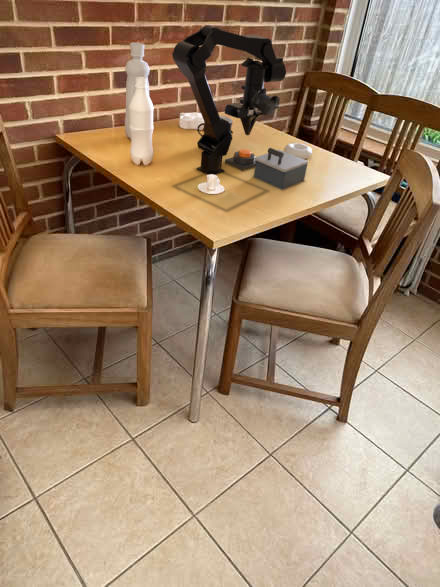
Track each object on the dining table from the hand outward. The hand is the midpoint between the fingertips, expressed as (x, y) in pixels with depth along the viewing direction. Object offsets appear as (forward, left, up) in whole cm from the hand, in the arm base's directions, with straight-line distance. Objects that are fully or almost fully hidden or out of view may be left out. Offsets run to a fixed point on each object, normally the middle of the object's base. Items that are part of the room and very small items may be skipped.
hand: (247, 134), depth 147 cm
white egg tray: (+16, +37, -10) cm, 42 cm away
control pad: (0, 0, -10) cm, 10 cm away
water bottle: (-28, +19, -10) cm, 35 cm away
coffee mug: (+2, +16, -10) cm, 19 cm away
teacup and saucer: (-21, -9, -10) cm, 25 cm away
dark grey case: (0, -15, -10) cm, 18 cm away
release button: (0, 0, -7) cm, 7 cm away
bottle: (-15, +37, -10) cm, 41 cm away
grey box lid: (0, -15, -4) cm, 15 cm away
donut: (+23, -6, -10) cm, 26 cm away
